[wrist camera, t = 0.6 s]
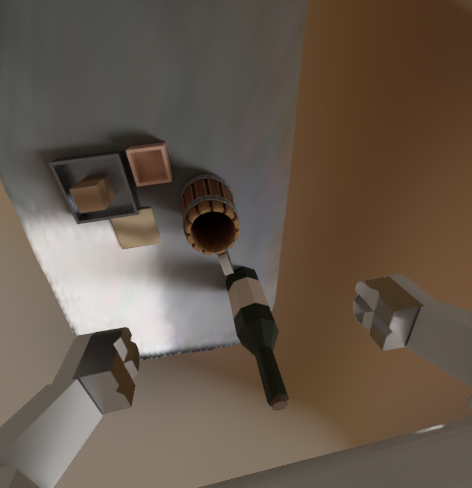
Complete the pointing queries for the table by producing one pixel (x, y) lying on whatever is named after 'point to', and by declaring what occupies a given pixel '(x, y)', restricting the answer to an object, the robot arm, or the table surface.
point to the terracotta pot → (150, 164)
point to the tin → (93, 165)
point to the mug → (210, 217)
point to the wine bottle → (257, 330)
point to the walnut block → (93, 193)
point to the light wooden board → (137, 229)
